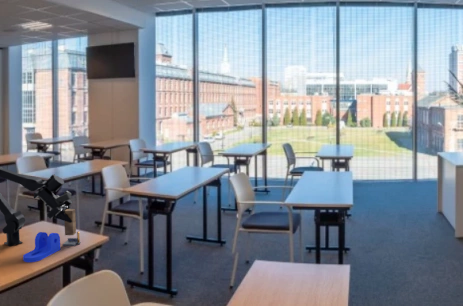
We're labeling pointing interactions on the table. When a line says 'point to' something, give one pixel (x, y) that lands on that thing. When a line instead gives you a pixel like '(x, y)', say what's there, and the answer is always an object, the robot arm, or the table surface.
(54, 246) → the bracket
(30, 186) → the robot arm
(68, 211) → the link block
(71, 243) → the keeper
